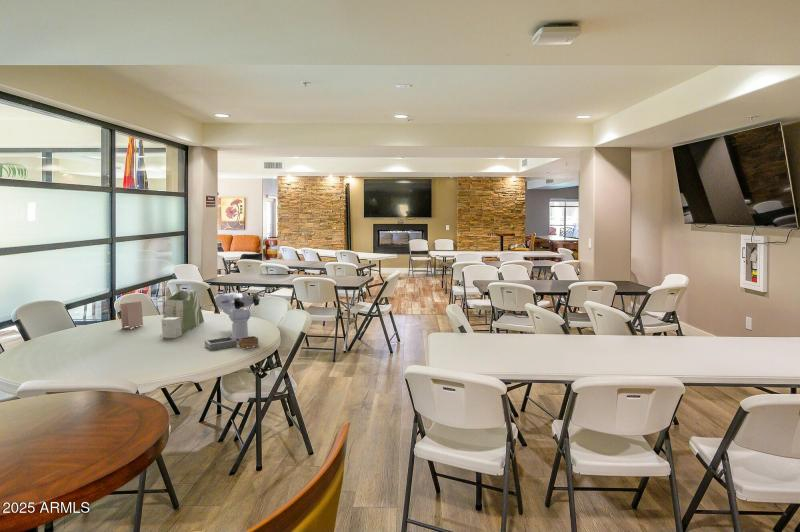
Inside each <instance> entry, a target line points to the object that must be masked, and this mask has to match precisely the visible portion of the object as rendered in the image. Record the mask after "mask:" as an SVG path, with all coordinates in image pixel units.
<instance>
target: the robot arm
mask: <svg viewBox="0 0 800 532" xmlns="http://www.w3.org/2000/svg"><path fill="white" fill-rule="evenodd" d="M214 300H215V305H216V307H217V308H219V309H221V310H222V311H223V313H224V314H226V315H228V317H229V319H230V321H231V322H232V324H231V325H232V326H231V327H232V328H231V329H232V334H231V335H230V336H231V337H232V338H234V339H235V340H239V338H245V337H251V335H249V332H248V331H249V329H248V328H249V327H248V321H249V319H251V310H250V309H249V307H250V306H251V305H254V306H255V307H256V306H259V305H260V302H261V299H260V297H259V295H258V294H253V295H252V296H250V295H248V294H247V293H244V292H239V293H238V292H236V291H231V292H227V293H220V294H217V295H215V297H214Z"/></svg>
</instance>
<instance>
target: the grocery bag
mask: <svg viewBox="0 0 800 532" xmlns="http://www.w3.org/2000/svg"><path fill="white" fill-rule="evenodd" d="M175 291H176V292H175ZM174 292H175V293H174ZM162 317H163V318H162V319H164V318H167V317H180V321H181V333H182V334H185V332H186V333H188V332H189V331H191V330H192V328H193V329H194V327H195V328H197V327H198V326H199V325H200V324H201V323H203V322H204V321H205V320H204V316H203V312H202V308H201V304H200V301H199V292H198V291H197V290H195V291H194V290H193V289H191V290H188V291H186V290H179V291H178V289H177V288H175V289H173V290H172V292H171V295H170V297H168V298H167V299H165V303H164V308H163V316H162ZM198 324H199V325H198ZM197 325H198V326H197ZM196 326H197V327H196ZM190 329H191V330H190ZM188 330H189V331H188Z"/></svg>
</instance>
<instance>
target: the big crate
mask: <svg viewBox="0 0 800 532" xmlns="http://www.w3.org/2000/svg"><path fill="white" fill-rule="evenodd" d="M237 340H238V339H235V338H233V337H232V336H231V335H229V336H224V337H218V338H212V339H211V338H210V339H205V340H204V347H205V346H206V348H207V350H209V349H210V350H209V351H214V350H213V349H215V350H219V349H218V348H221V349H225V348H224V347H227V348H231V347H230V346H234V347H237V346H238V343H237V342H238V341H237ZM236 345H237V346H236Z"/></svg>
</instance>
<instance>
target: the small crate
mask: <svg viewBox="0 0 800 532" xmlns="http://www.w3.org/2000/svg"><path fill="white" fill-rule="evenodd" d="M250 336H251V335H250ZM238 345H239V346H240V347H241V348H240V347H239V346H238V347H239V348H240V349H242V348H246V349H248V348H247V347H252V348H254V347H253V346H257V347H259V337H257V336H255V335H253V336H251V337H245V338H239V339H238Z"/></svg>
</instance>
